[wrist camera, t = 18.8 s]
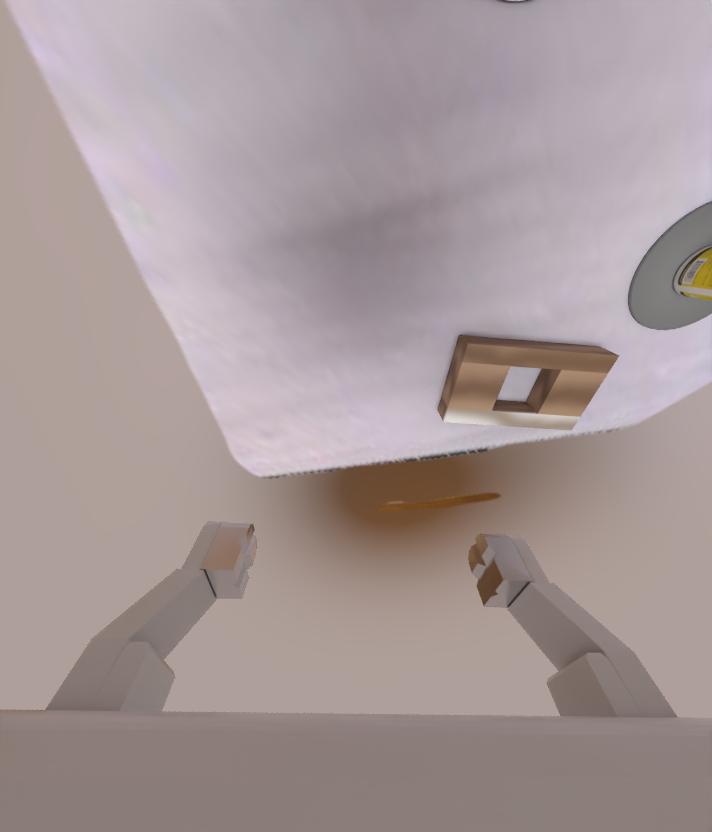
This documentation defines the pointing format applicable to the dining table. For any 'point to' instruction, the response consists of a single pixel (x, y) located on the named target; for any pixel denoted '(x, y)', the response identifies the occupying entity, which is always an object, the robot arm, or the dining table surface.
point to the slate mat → (671, 275)
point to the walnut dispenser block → (551, 395)
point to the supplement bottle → (696, 276)
